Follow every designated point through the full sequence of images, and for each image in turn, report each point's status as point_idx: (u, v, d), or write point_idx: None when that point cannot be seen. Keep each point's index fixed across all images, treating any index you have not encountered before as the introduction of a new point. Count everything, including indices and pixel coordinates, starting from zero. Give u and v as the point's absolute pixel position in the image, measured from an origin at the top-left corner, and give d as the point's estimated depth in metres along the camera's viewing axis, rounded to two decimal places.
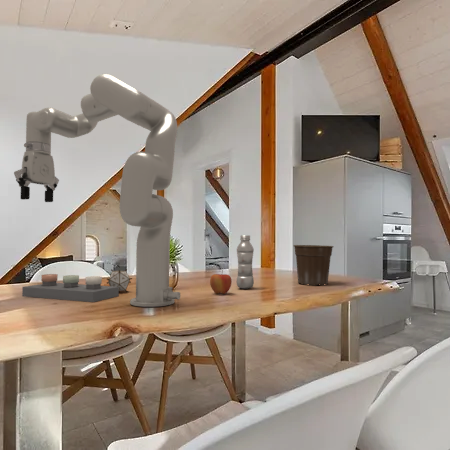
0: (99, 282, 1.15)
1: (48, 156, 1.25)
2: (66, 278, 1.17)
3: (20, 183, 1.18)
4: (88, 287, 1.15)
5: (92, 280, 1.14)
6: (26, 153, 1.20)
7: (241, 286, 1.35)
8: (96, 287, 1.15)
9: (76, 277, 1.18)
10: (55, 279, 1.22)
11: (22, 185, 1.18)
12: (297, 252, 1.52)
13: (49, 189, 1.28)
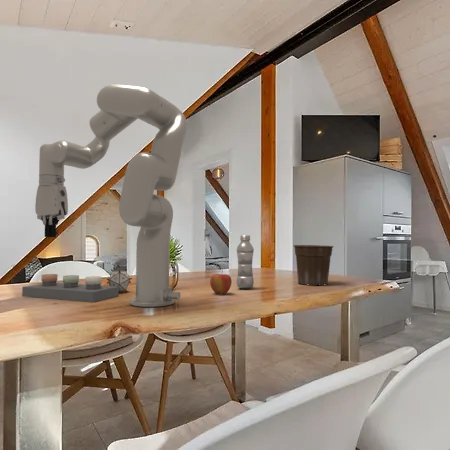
0: (99, 282, 1.15)
1: None
2: (66, 278, 1.17)
3: (56, 222, 1.22)
4: (88, 287, 1.15)
5: (92, 280, 1.14)
6: (61, 187, 1.21)
7: (241, 286, 1.35)
8: (96, 287, 1.15)
9: (76, 277, 1.18)
10: (55, 279, 1.22)
11: (54, 225, 1.22)
12: (297, 252, 1.52)
13: None
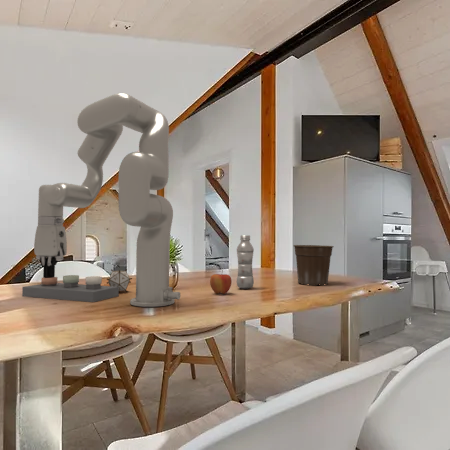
0: (99, 282, 1.15)
1: None
2: (66, 278, 1.17)
3: (54, 263, 1.22)
4: (88, 287, 1.15)
5: (92, 280, 1.14)
6: (60, 228, 1.21)
7: (241, 286, 1.35)
8: (96, 287, 1.15)
9: (76, 277, 1.18)
10: (55, 282, 1.21)
11: (53, 265, 1.22)
12: (297, 252, 1.52)
13: None
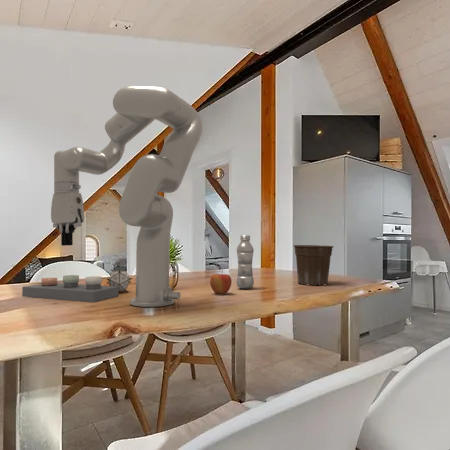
0: (99, 282, 1.15)
1: None
2: (66, 278, 1.17)
3: (72, 230, 1.19)
4: (88, 287, 1.15)
5: (92, 280, 1.14)
6: (77, 194, 1.19)
7: (241, 286, 1.35)
8: (96, 287, 1.15)
9: (76, 277, 1.18)
10: (55, 283, 1.21)
11: (70, 233, 1.20)
12: (297, 252, 1.52)
13: None
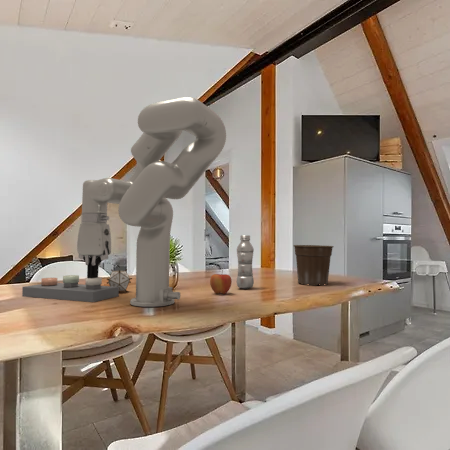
0: (99, 283, 1.15)
1: None
2: (66, 278, 1.17)
3: (99, 262, 1.15)
4: (88, 288, 1.15)
5: (92, 281, 1.14)
6: (105, 226, 1.15)
7: (241, 286, 1.35)
8: (96, 288, 1.15)
9: (76, 277, 1.18)
10: (55, 283, 1.21)
11: (97, 265, 1.16)
12: (297, 252, 1.52)
13: None
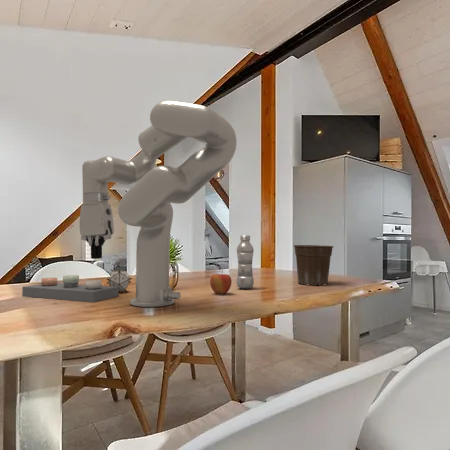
0: (99, 286, 1.15)
1: None
2: (66, 278, 1.17)
3: (102, 242, 1.15)
4: None
5: (92, 284, 1.13)
6: (107, 206, 1.15)
7: (241, 286, 1.35)
8: None
9: (76, 277, 1.18)
10: (55, 283, 1.21)
11: (100, 245, 1.16)
12: (297, 252, 1.52)
13: None
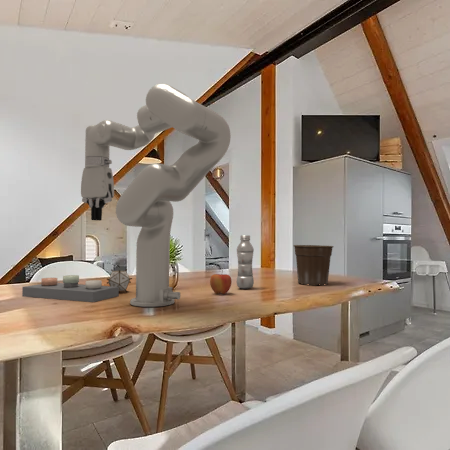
0: (99, 286, 1.15)
1: None
2: (66, 278, 1.17)
3: (102, 205, 1.20)
4: None
5: (92, 284, 1.13)
6: (108, 169, 1.19)
7: (241, 286, 1.35)
8: None
9: (76, 277, 1.18)
10: (55, 283, 1.21)
11: (100, 208, 1.20)
12: (297, 252, 1.52)
13: None
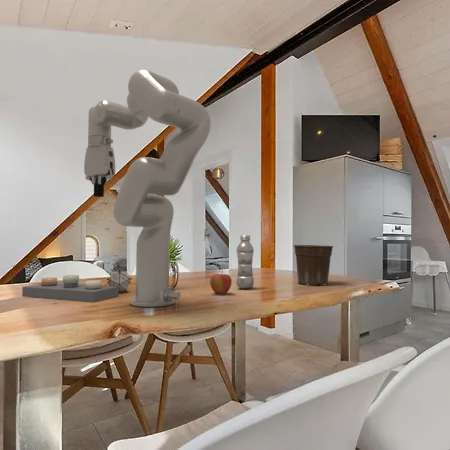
0: (99, 286, 1.15)
1: None
2: (66, 278, 1.17)
3: (104, 182, 1.27)
4: None
5: (92, 284, 1.13)
6: (109, 148, 1.26)
7: (241, 286, 1.35)
8: None
9: (76, 277, 1.18)
10: (55, 283, 1.21)
11: (102, 185, 1.27)
12: (297, 252, 1.52)
13: None
